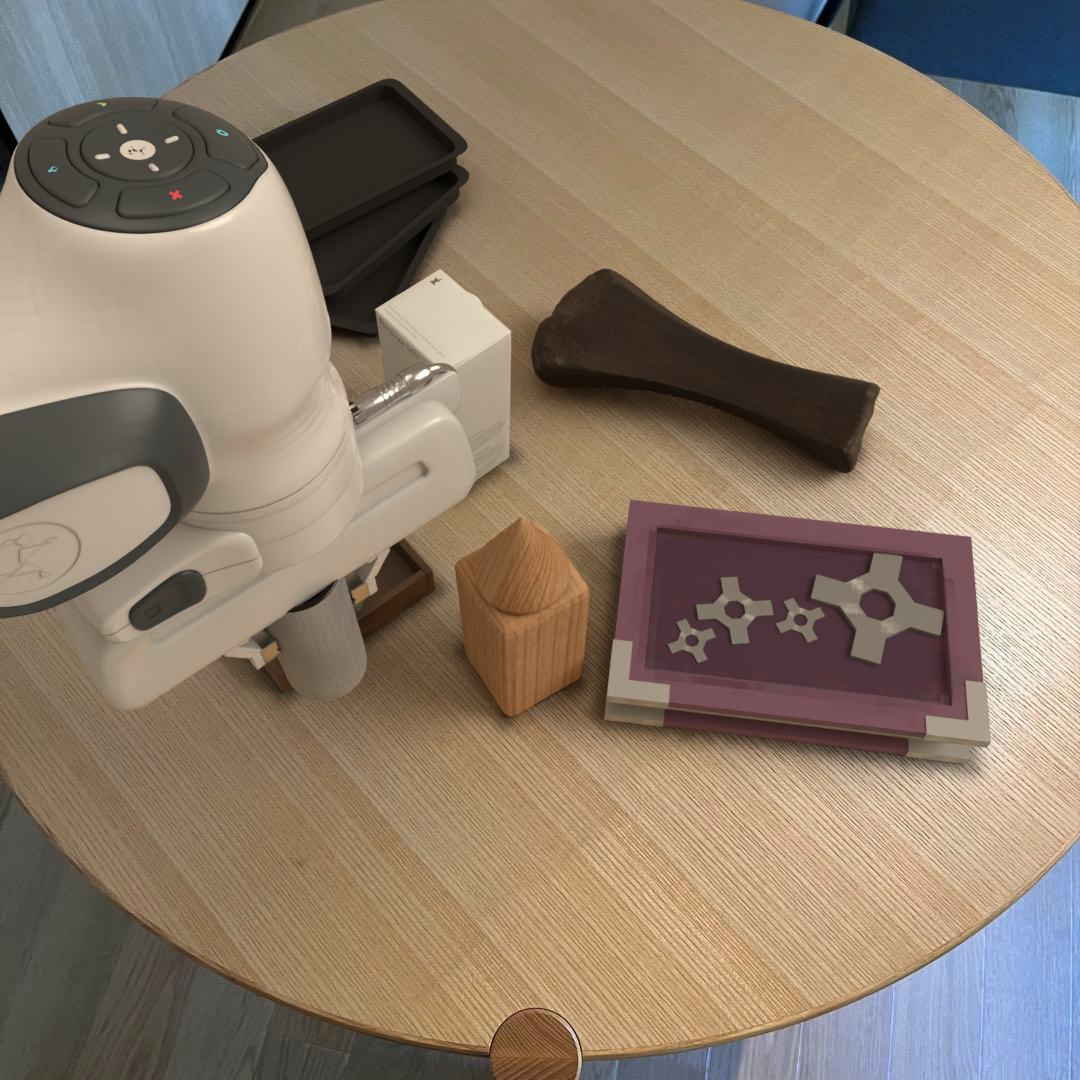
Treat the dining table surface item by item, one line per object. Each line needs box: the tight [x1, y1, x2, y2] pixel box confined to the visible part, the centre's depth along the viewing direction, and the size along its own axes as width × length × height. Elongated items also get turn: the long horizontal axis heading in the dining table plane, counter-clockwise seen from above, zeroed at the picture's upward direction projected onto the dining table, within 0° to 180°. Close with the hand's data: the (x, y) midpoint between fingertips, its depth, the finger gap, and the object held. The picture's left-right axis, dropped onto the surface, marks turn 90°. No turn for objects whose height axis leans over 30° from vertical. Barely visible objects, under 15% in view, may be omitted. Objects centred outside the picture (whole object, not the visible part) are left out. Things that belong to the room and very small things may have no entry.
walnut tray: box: [263, 538, 436, 694], centre depth 88 cm, size 14×30×3 cm, turn 39°
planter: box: [265, 577, 368, 702], centre depth 58 cm, size 4×4×10 cm
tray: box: [250, 78, 470, 338], centre depth 105 cm, size 30×23×5 cm
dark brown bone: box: [530, 268, 881, 474], centre depth 93 cm, size 11×10×28 cm
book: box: [603, 499, 992, 765], centre depth 81 cm, size 25×16×5 cm, turn 82°
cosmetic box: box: [375, 268, 512, 482], centre depth 86 cm, size 8×7×16 cm
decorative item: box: [454, 516, 590, 718], centre depth 74 cm, size 7×7×20 cm
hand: (310, 621), depth 58 cm, fingers closed on planter, 4 cm apart
